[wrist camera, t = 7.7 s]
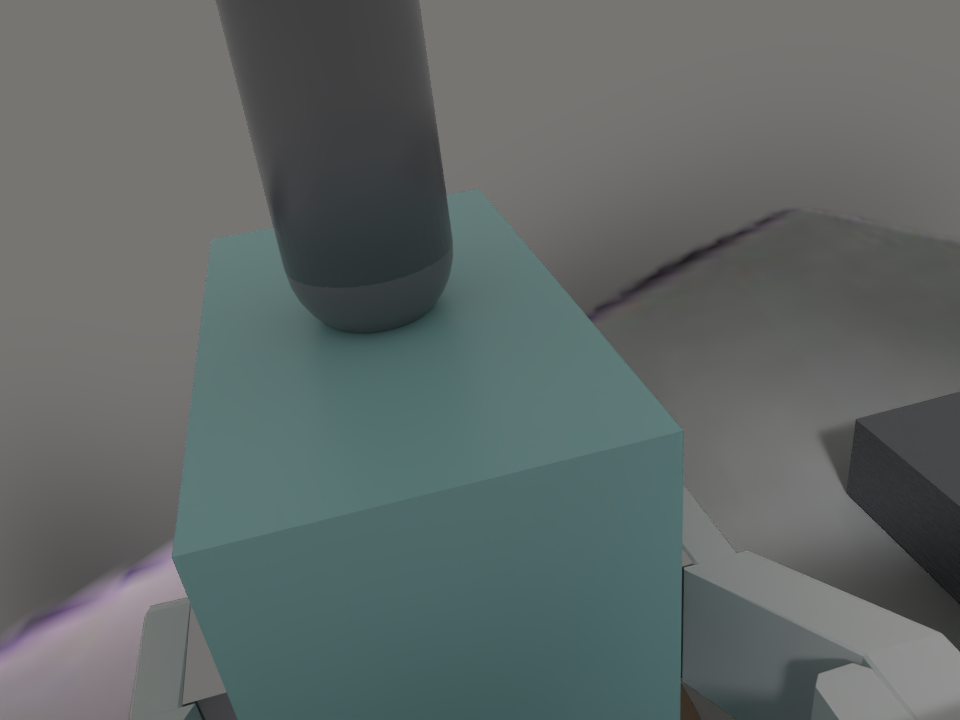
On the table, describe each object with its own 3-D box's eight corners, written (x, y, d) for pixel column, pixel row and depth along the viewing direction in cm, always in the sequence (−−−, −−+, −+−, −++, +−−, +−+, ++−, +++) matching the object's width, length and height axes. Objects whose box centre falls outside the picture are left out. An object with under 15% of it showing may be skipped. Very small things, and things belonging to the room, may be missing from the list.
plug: (414, 1155, 10) (-114, -142, 3) (359, 740, 15) (108, -105, 8) (677, 1057, 11) (691, -233, 4) (538, 687, 16) (438, -146, 9)
